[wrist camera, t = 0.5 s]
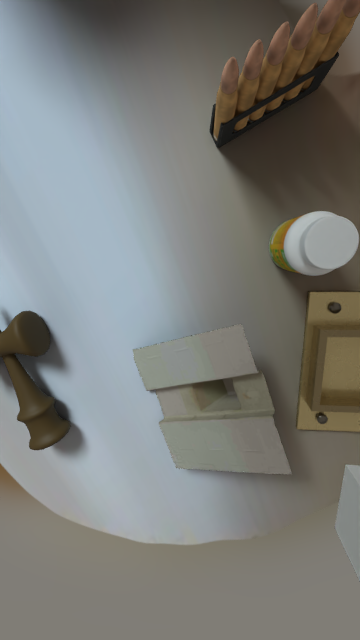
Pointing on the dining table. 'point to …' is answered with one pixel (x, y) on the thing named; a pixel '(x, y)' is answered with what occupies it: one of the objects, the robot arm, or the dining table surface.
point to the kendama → (35, 406)
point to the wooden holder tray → (330, 363)
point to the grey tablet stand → (213, 403)
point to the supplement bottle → (314, 243)
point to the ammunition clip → (281, 69)
